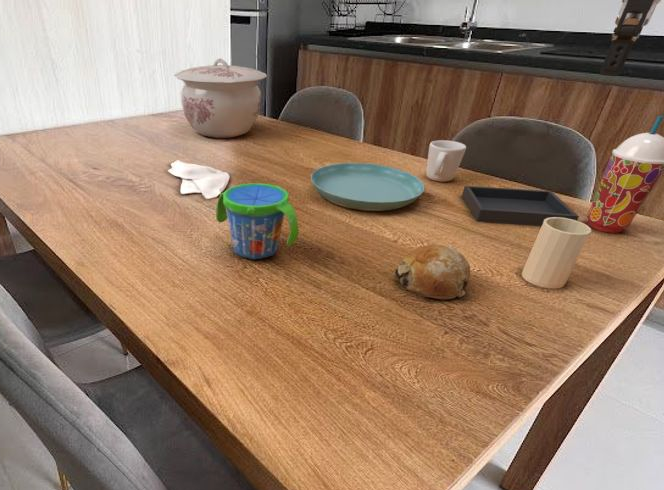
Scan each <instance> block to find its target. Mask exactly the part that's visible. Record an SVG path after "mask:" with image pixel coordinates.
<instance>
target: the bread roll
mask: <svg viewBox="0 0 664 490" xmlns="http://www.w3.org/2000/svg"><path fill="white" fill-rule="evenodd" d="M398 264H399V265H398V267H397V269H395V271H394V274H395V276H396V277H397V279H399V283H400V284H401V285H402V286H403V287H404V288H405V289H407V290H408V291H409V292H410V293H411V292H412V293H413V294H415V295H418V296H420V298H431V299H436V300H445V301H446V300H453V299H455V298H462V297H464V296H465V295H466V291H465V288H466V287H467V286H468V283H469V280H470V276H471V266H470V263H469V261H468V260H467V258H466V256H465V255H464V254H463V253H462V252H460V251H458V249H457V248H456V247H454V246H447V245H445V244H427V245H422V246H419V247H416V248H415V249H413V250H412V251H410V252H409V253H408V254H406V255H405V256H401V258H400V261H399V263H398Z"/></svg>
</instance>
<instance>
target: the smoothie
mask: <svg viewBox="0 0 664 490" xmlns="http://www.w3.org/2000/svg"><path fill="white" fill-rule="evenodd" d="M663 119H664V116H663V115H658V117H657V119H656V121H655V122H654V124H653V126H652V128H651V130H650V132H643V133H637V134H635V135H632V136H630V137H628V138H627V139H625V140H624V141H622V142H621V143H620V144H619V145H618V146H617V147H616V148H614V149H612V153H611V155H610V157H609V160H608V162H607V165H606V167H605V170H604V173H603V175H602V178H601V180H600V183H599V185H598V187H597V190H596V192H595V195H594V198H593V199H592V202H591V204H590V208H589V210H588V212H587V215H586V218H587V223H586V225H588V226H589V227H590V228H591V229H594V230H596V231H599V232H604V233H609V234H618V233H621V232H623V231H624V229H625V228H628V227H630V225H631V223H632V222H633V220H634V219H635V217H636V216H637V214H638V212H639V211H640V209H641V208H642V206H643V205H644V203H645V201H647V199H648V197H649V195H650V193H651V192H652V190H653V189H654V187H655V186H656V184H657V182H658V181H659V179H660V178H661V176H662V175H663V174H664V136H663V135H660V134H659V133H656V132H657V130H658V128H659V127H660V125H661V123H662V120H663Z"/></svg>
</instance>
